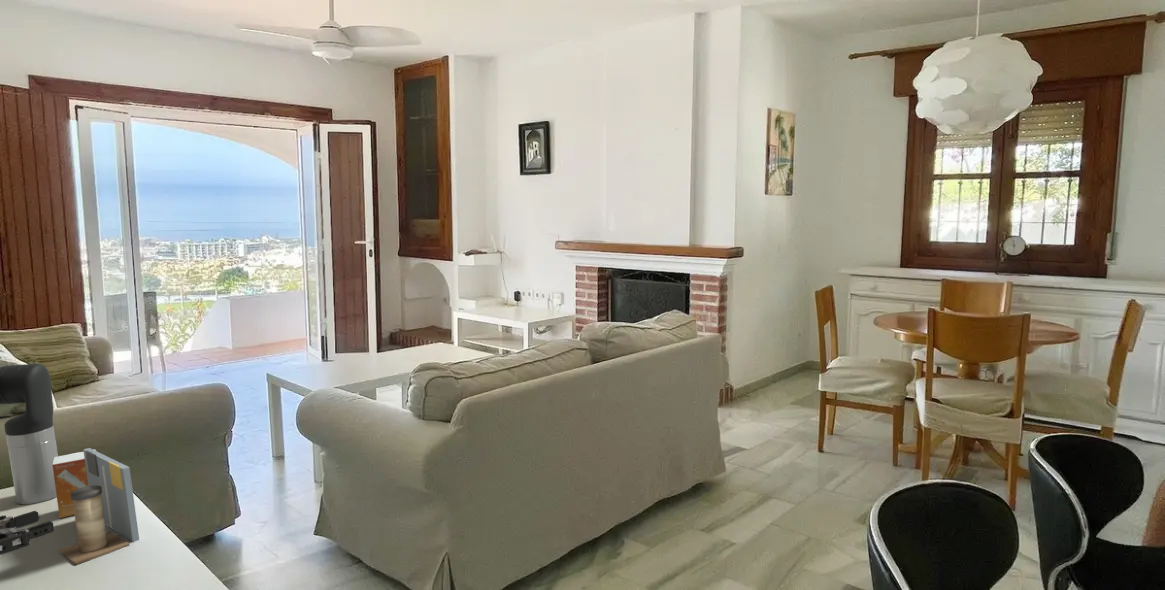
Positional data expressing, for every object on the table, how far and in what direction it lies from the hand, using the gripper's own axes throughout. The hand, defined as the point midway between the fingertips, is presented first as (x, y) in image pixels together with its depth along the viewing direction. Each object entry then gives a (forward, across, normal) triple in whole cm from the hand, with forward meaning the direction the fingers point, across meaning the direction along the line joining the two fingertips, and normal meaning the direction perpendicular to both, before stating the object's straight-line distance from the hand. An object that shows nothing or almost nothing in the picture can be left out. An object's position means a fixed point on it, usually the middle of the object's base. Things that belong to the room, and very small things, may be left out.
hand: (45, 520), depth 139 cm
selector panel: (+14, +7, +9) cm, 18 cm away
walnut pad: (+7, 0, +9) cm, 12 cm away
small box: (+13, +25, +9) cm, 30 cm away
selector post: (+7, 0, +9) cm, 11 cm away
